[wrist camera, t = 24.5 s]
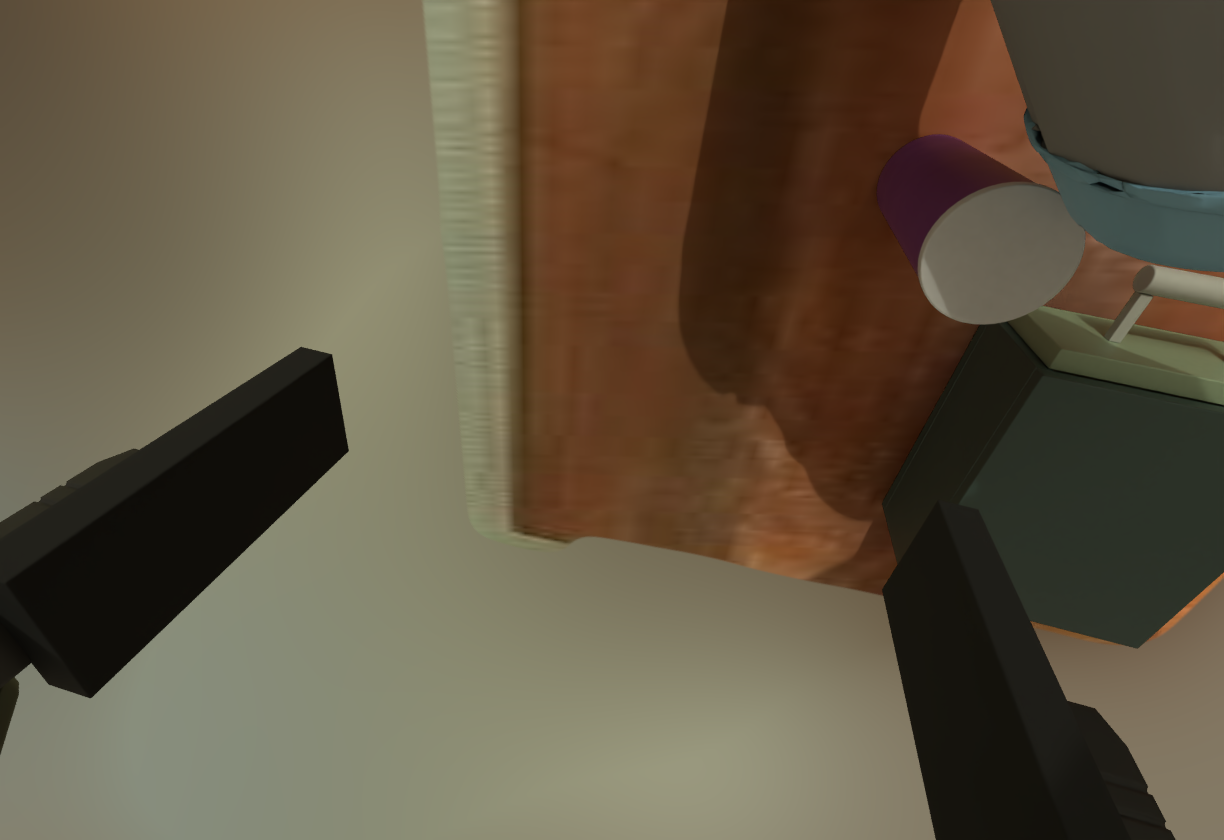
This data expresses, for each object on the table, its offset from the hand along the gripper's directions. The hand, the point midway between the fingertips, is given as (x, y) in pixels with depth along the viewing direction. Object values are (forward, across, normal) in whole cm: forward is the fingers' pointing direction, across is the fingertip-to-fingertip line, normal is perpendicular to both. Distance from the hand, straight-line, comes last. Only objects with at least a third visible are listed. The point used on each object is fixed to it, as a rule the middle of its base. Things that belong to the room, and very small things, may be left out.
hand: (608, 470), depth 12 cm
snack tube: (+29, +12, +3) cm, 31 cm away
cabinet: (+29, +26, -12) cm, 41 cm away
